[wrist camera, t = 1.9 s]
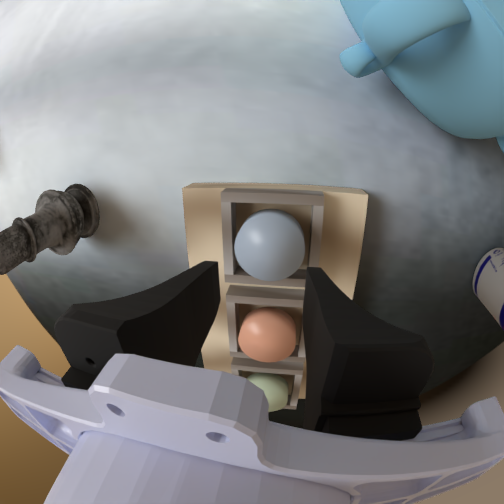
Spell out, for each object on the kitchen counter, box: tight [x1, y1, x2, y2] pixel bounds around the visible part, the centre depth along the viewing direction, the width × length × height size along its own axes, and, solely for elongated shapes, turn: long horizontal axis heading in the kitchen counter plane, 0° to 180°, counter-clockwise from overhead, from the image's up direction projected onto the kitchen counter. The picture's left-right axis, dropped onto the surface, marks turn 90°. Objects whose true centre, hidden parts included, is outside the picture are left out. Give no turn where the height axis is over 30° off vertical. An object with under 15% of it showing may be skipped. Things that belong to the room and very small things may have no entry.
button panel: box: [182, 183, 368, 409], centre depth 21 cm, size 20×12×3 cm, turn 0°
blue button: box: [234, 209, 305, 281], centre depth 16 cm, size 4×4×2 cm
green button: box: [246, 372, 289, 412], centre depth 22 cm, size 4×4×2 cm
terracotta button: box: [238, 307, 296, 363], centre depth 19 cm, size 4×4×2 cm
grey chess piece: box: [0, 184, 99, 275], centre depth 16 cm, size 6×6×12 cm
